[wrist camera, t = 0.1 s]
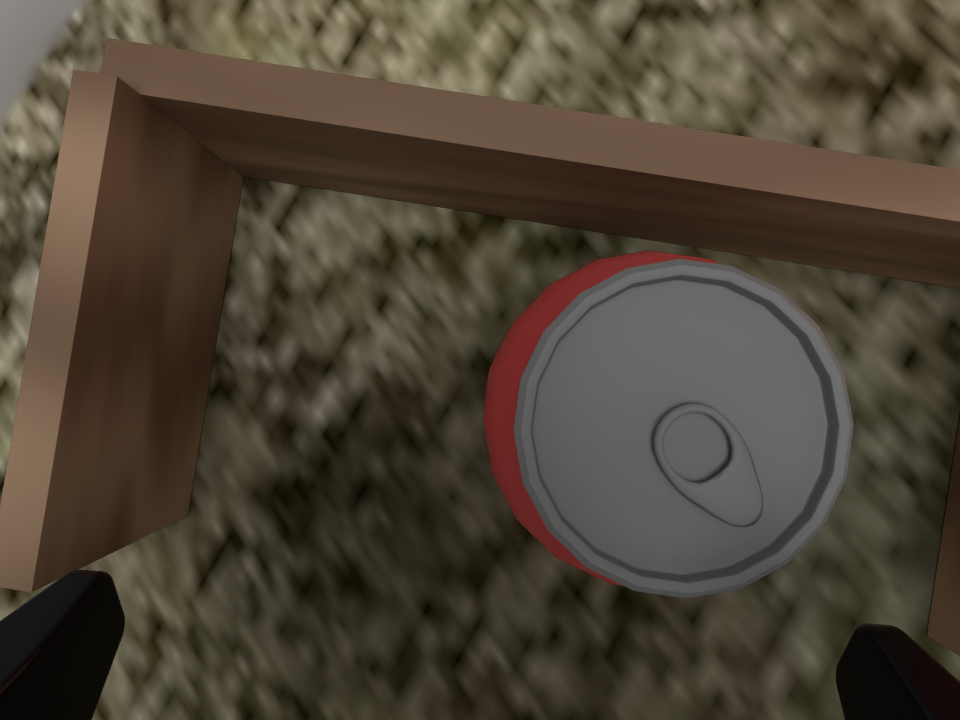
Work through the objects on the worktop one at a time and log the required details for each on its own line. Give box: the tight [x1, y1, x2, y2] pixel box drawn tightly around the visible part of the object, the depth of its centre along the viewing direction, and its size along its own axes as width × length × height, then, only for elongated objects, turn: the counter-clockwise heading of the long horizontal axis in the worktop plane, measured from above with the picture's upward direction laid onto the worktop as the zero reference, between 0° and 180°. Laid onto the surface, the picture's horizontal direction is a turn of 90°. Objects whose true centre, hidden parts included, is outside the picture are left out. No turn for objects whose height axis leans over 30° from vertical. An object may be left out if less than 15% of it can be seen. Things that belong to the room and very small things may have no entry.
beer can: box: [483, 251, 854, 598], centre depth 17 cm, size 7×7×12 cm
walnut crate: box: [0, 38, 960, 655], centre depth 19 cm, size 13×27×8 cm, turn 81°
